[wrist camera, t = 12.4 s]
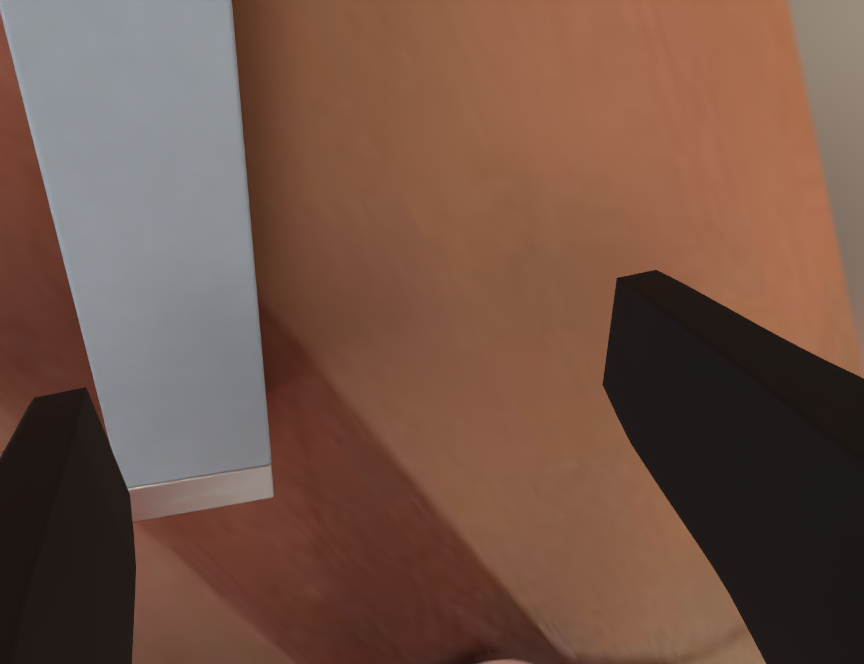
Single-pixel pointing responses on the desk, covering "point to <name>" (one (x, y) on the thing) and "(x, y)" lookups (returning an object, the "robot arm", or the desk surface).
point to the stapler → (154, 235)
